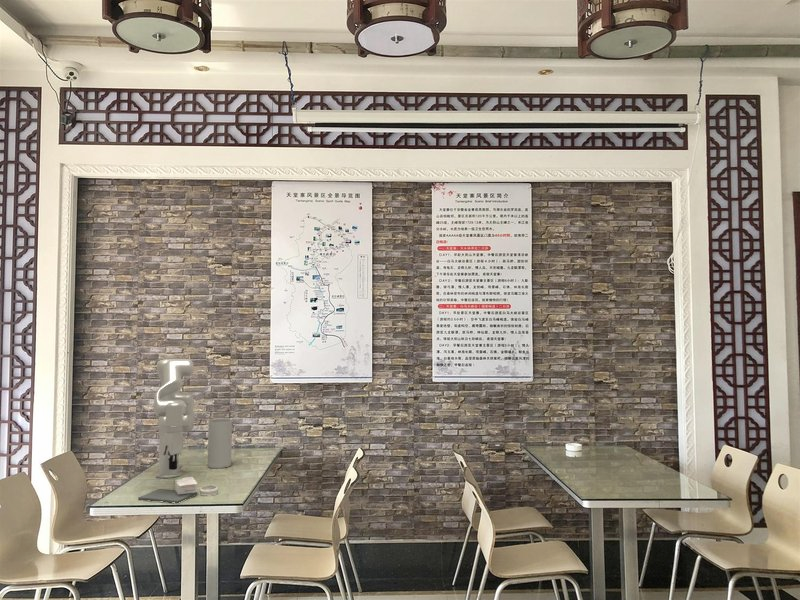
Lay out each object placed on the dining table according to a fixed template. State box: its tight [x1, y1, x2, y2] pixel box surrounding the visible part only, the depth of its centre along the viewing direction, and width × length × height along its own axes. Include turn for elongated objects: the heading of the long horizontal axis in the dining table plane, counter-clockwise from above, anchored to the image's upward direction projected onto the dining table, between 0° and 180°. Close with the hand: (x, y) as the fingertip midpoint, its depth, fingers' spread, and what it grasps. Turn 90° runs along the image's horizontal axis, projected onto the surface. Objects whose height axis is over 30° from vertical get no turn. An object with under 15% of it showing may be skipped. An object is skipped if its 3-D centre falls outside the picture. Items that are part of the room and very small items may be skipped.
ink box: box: [173, 476, 198, 495], centre depth 280 cm, size 9×5×15 cm
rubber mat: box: [138, 488, 198, 504], centre depth 275 cm, size 15×20×1 cm
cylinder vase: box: [207, 418, 233, 469], centre depth 337 cm, size 12×12×25 cm
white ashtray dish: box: [199, 485, 219, 496], centre depth 282 cm, size 8×8×3 cm
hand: (172, 469), depth 282 cm, fingers closed
